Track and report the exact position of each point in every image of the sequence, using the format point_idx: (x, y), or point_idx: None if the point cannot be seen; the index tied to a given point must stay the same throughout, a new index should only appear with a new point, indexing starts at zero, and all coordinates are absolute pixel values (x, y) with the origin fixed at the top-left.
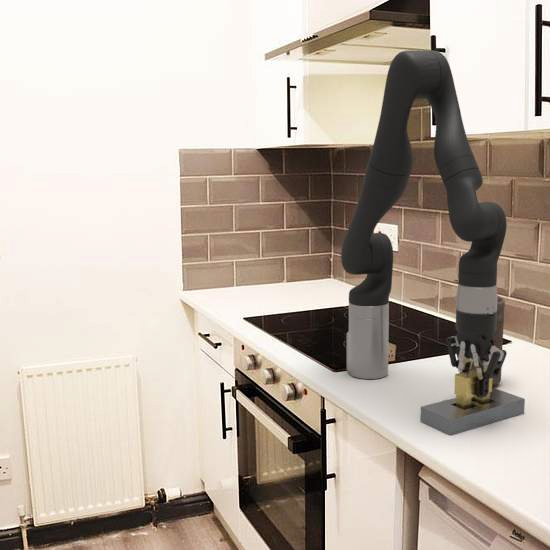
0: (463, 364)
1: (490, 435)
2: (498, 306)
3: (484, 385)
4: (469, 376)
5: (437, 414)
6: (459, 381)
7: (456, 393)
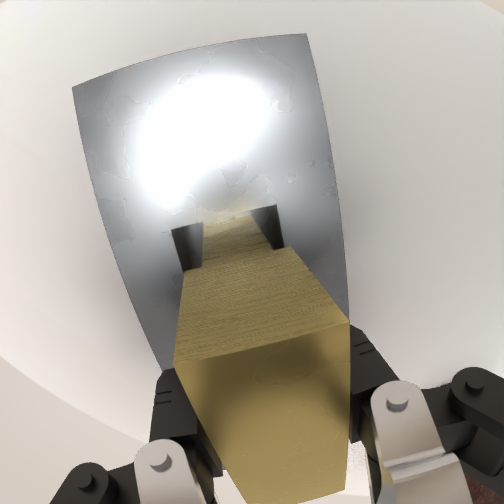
0: (384, 459)
1: (60, 255)
2: None
3: (156, 423)
4: (225, 411)
5: (169, 55)
6: (268, 309)
7: (273, 253)
